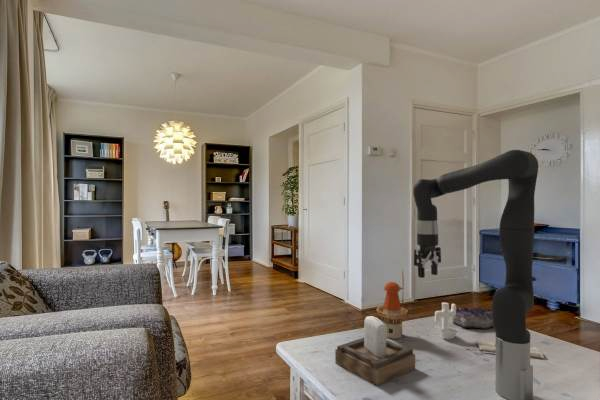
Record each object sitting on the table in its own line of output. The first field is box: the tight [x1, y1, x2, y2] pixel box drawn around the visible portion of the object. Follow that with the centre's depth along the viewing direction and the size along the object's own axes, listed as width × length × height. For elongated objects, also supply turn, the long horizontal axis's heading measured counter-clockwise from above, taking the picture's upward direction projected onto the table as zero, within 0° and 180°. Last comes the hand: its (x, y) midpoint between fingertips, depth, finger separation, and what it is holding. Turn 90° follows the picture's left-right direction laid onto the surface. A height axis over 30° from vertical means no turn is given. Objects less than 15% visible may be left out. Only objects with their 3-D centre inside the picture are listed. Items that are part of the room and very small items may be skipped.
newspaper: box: [476, 340, 545, 360], centre depth 141 cm, size 23×12×2 cm, turn 70°
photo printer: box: [363, 315, 387, 358], centre depth 128 cm, size 10×4×12 cm, turn 20°
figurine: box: [433, 302, 459, 340], centre depth 156 cm, size 7×9×15 cm
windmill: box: [376, 268, 409, 340], centre depth 156 cm, size 17×14×30 cm
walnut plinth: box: [334, 337, 416, 387], centre depth 128 cm, size 20×20×6 cm
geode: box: [452, 306, 494, 330], centre depth 170 cm, size 20×12×10 cm, turn 90°
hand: (428, 276), depth 133 cm, fingers open, 8 cm apart
